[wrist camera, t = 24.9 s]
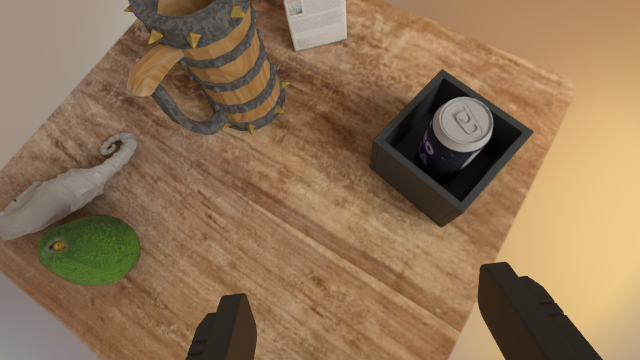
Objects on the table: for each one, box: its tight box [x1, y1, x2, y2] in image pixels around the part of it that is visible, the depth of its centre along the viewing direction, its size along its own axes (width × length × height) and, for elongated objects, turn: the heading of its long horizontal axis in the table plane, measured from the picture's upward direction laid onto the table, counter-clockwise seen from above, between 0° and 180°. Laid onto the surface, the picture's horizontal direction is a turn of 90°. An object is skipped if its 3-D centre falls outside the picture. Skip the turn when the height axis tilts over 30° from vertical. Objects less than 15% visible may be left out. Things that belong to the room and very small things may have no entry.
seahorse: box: [0, 132, 138, 240], centre depth 46 cm, size 5×12×20 cm
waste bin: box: [370, 69, 534, 227], centre depth 40 cm, size 12×12×9 cm
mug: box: [125, 0, 291, 135], centre depth 40 cm, size 13×17×20 cm
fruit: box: [37, 215, 140, 286], centre depth 39 cm, size 8×8×12 cm
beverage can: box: [414, 97, 493, 183], centre depth 38 cm, size 6×6×12 cm
